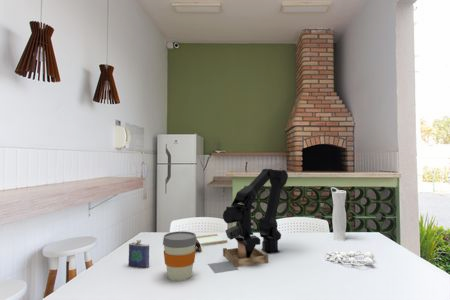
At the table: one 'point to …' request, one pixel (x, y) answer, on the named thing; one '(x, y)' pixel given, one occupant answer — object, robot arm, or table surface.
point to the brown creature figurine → (198, 245)
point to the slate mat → (222, 267)
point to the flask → (138, 255)
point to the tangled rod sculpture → (352, 261)
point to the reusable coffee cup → (179, 254)
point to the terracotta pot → (242, 250)
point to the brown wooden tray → (255, 259)
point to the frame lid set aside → (210, 240)
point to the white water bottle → (339, 214)
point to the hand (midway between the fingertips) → (244, 256)
